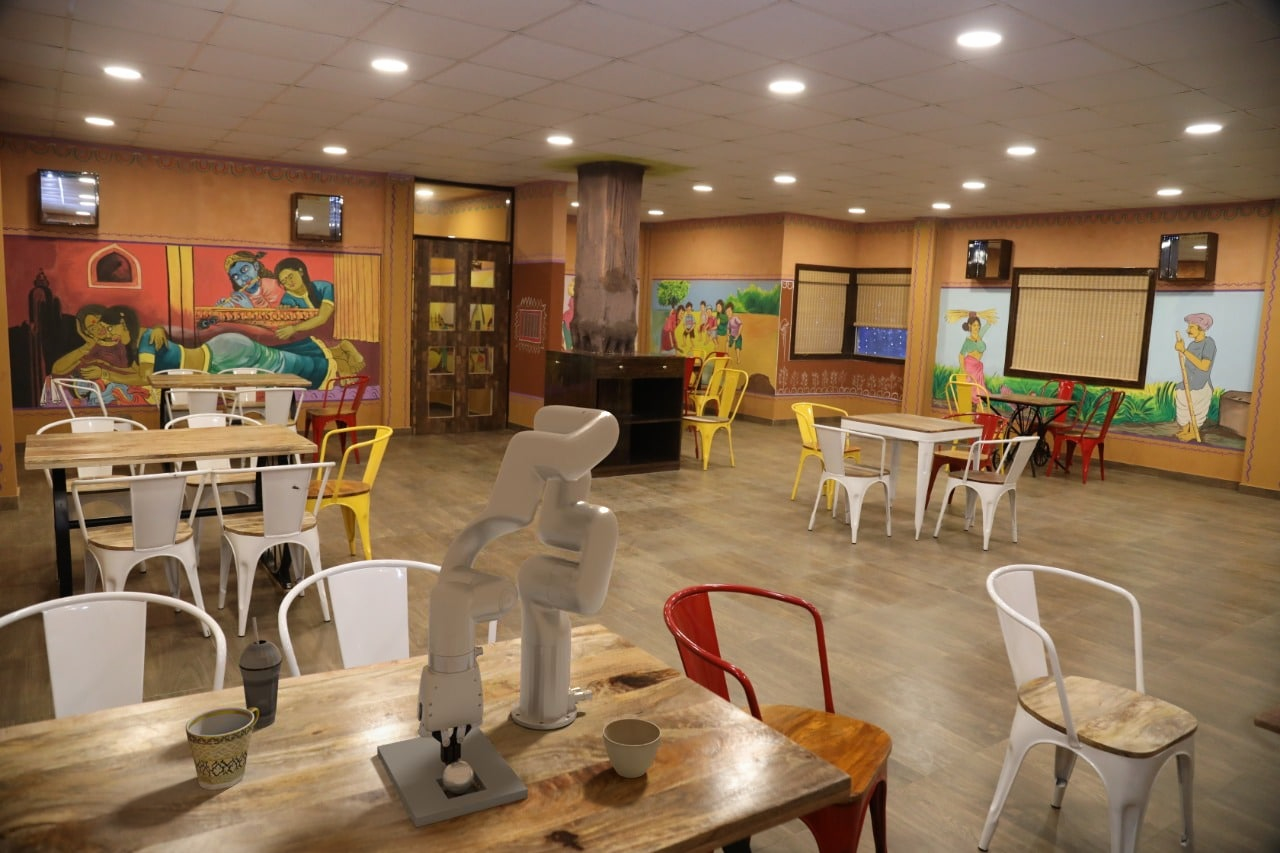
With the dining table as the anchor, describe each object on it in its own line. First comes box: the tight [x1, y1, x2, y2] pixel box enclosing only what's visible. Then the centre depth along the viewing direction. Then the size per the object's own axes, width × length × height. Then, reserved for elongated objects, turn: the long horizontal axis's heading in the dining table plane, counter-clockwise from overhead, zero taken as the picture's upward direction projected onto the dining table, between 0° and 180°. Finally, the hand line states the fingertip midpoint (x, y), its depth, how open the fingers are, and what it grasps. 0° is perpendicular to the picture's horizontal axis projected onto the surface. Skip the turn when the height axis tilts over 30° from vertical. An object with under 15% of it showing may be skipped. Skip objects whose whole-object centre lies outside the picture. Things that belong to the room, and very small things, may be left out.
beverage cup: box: [238, 616, 283, 729], centre depth 159 cm, size 7×7×20 cm
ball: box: [442, 761, 475, 794], centre depth 140 cm, size 5×5×5 cm
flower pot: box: [602, 717, 662, 779], centre depth 148 cm, size 10×10×7 cm
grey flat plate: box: [376, 726, 529, 828], centre depth 145 cm, size 18×24×2 cm
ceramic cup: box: [185, 706, 259, 791], centre depth 142 cm, size 13×10×10 cm
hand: (450, 763), depth 144 cm, fingers closed
